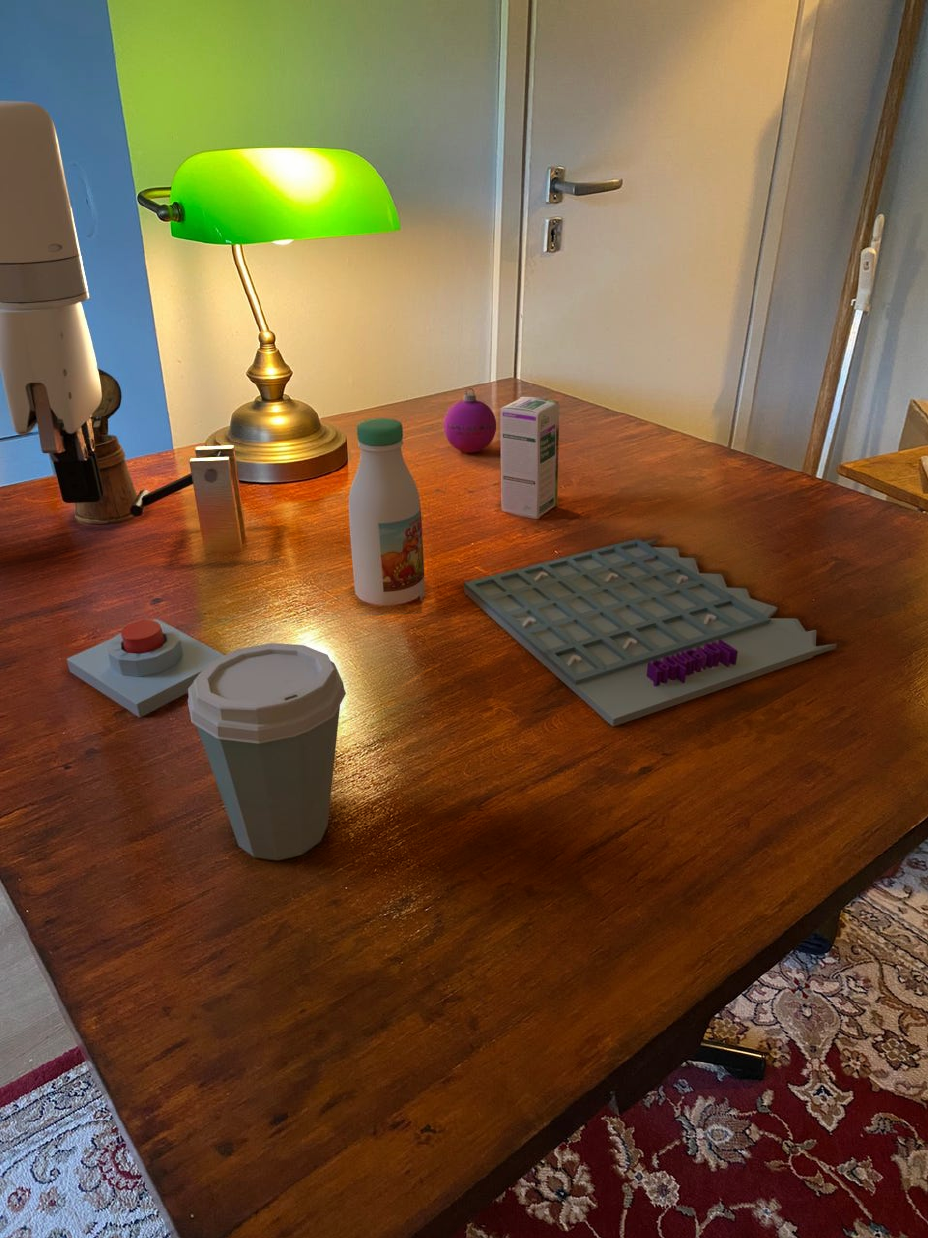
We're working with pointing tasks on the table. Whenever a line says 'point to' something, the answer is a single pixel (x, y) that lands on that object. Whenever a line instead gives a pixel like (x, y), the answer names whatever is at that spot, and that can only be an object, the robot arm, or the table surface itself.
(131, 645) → the button
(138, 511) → the switch
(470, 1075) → the table surface
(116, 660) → the control block
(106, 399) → the wooden mug
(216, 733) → the disposable coffee cup
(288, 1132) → the table surface
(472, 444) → the christmas ornament
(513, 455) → the syrup box
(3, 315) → the robot arm
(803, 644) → the calendar
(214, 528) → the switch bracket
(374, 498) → the milk bottle
